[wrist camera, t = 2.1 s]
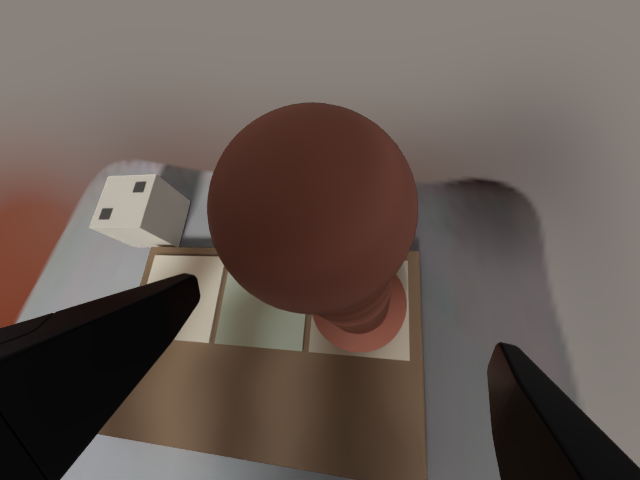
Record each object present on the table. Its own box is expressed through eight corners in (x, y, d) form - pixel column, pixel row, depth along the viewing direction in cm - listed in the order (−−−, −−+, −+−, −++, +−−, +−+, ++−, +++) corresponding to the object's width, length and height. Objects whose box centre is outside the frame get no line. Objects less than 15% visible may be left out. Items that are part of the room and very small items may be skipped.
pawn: (424, 308, 17) (591, 131, 3) (356, 373, 16) (236, 464, 3) (361, 246, 19) (307, -20, 5) (298, 302, 18) (71, 161, 5)
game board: (417, 255, 19) (419, 249, 18) (424, 483, 15) (428, 493, 14) (160, 251, 23) (149, 245, 22) (111, 430, 19) (94, 434, 18)
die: (190, 201, 24) (155, 173, 20) (178, 247, 23) (139, 227, 19) (148, 202, 25) (107, 175, 21) (134, 247, 24) (88, 227, 20)
